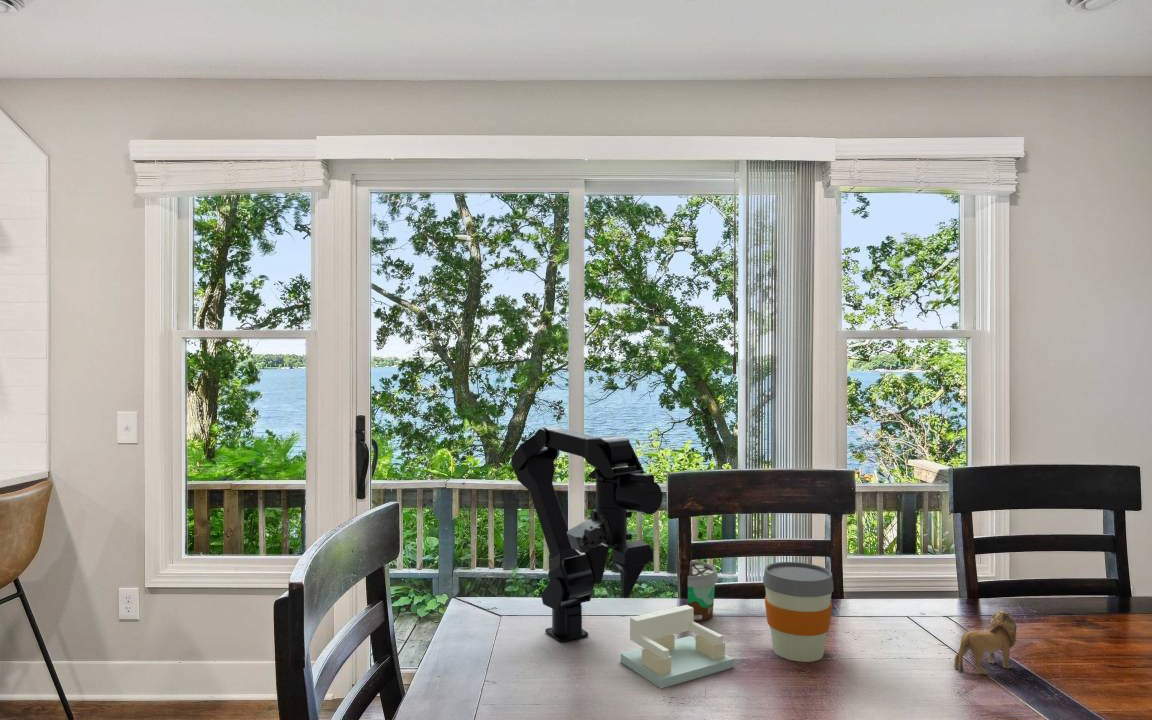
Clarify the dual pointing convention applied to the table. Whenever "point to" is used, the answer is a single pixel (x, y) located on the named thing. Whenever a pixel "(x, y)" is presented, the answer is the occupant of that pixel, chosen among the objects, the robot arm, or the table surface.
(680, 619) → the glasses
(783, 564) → the reusable coffee cup
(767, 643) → the table surface
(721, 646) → the display stand
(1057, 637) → the table surface
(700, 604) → the food container
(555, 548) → the robot arm
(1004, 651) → the lion figurine
